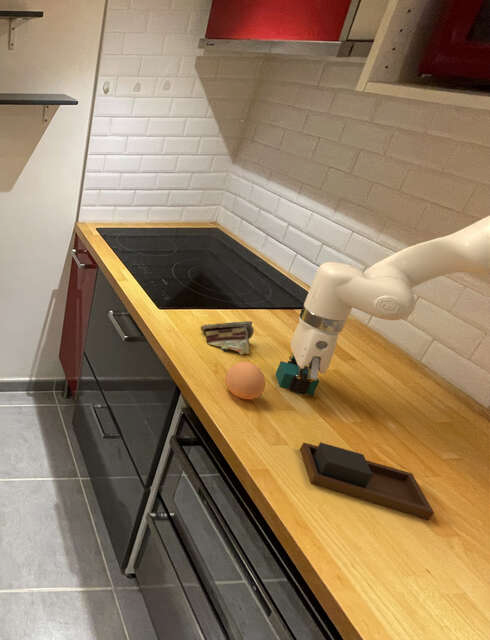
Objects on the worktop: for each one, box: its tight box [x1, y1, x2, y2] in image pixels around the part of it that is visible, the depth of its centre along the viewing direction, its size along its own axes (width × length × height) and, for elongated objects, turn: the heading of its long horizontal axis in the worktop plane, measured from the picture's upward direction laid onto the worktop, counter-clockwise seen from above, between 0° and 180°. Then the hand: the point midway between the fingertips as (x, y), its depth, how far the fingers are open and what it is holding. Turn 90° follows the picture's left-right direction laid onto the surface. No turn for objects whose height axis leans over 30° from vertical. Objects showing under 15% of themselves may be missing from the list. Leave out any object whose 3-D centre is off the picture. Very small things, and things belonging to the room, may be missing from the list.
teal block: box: [275, 360, 320, 396], centre depth 102 cm, size 6×5×4 cm
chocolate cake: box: [200, 320, 255, 356], centre depth 115 cm, size 10×7×12 cm
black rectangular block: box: [313, 442, 373, 488], centre depth 80 cm, size 6×5×4 cm
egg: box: [224, 360, 266, 400], centre depth 98 cm, size 7×7×8 cm
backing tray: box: [299, 442, 435, 521], centre depth 80 cm, size 16×8×2 cm, turn 66°
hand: (294, 383), depth 103 cm, fingers closed on teal block, 4 cm apart
